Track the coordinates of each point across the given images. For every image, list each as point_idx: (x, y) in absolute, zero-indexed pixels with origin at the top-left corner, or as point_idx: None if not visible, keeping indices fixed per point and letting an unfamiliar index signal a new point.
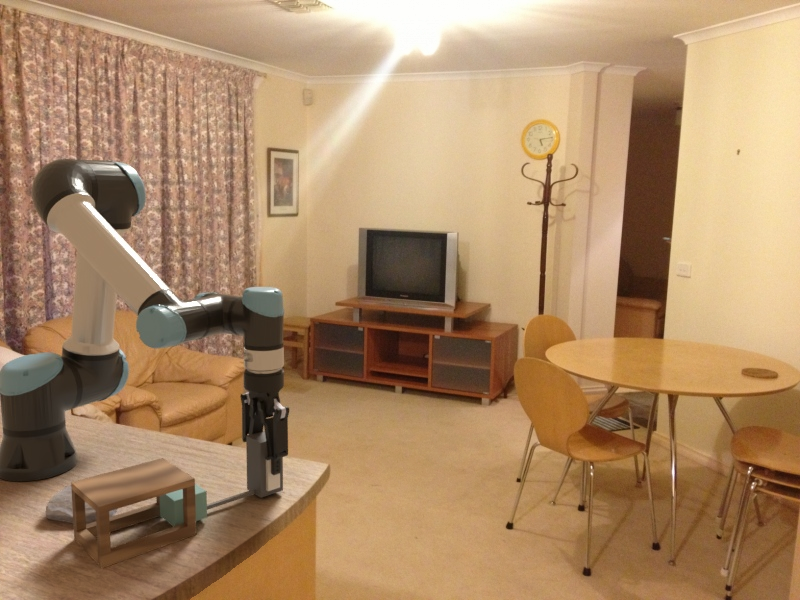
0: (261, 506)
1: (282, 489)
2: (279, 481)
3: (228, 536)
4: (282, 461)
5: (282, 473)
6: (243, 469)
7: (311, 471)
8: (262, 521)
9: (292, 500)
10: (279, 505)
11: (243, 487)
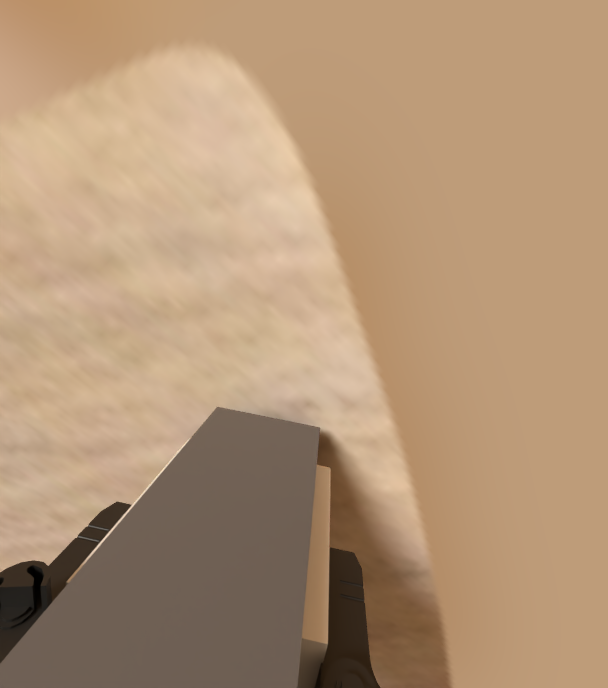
0: (332, 523)
1: (319, 431)
2: (329, 490)
3: (395, 678)
4: (310, 536)
5: (314, 478)
6: (28, 352)
7: (241, 163)
8: (412, 587)
9: (388, 435)
10: (377, 487)
11: (167, 459)
